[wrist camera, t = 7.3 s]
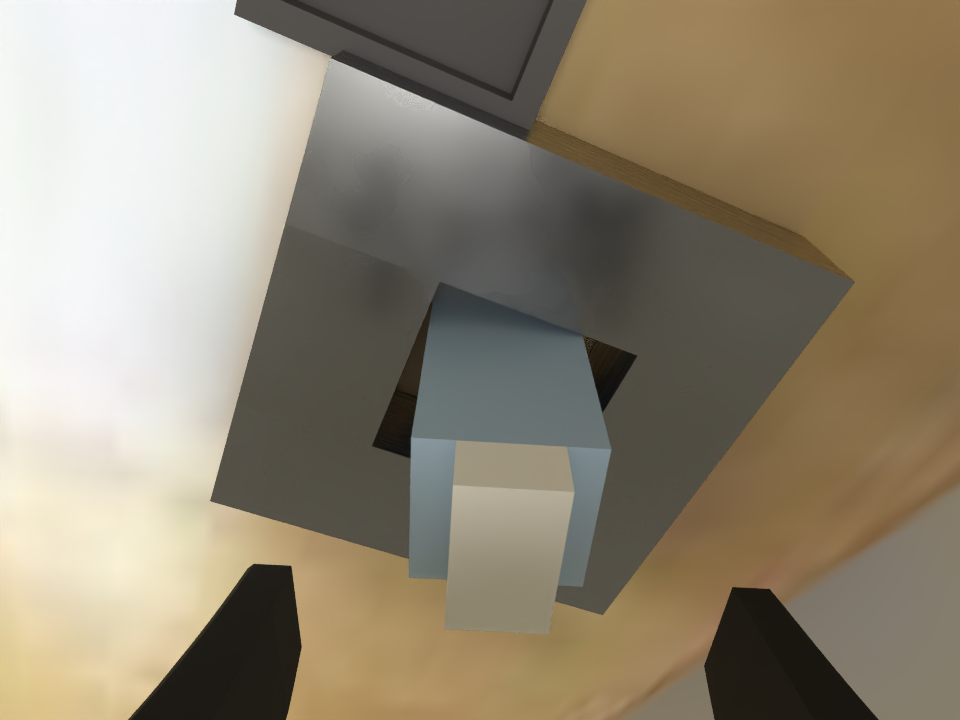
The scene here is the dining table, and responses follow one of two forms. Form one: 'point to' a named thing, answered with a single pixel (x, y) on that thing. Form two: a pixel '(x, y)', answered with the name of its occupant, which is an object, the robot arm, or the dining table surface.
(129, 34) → the dining table surface
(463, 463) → the plug
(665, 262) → the port block
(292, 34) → the square shadow box
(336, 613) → the dining table surface
